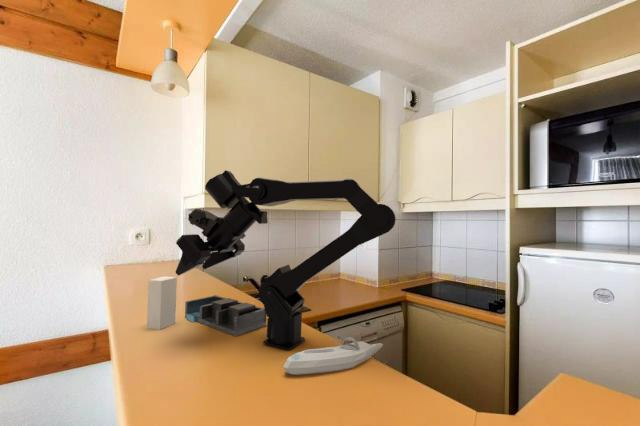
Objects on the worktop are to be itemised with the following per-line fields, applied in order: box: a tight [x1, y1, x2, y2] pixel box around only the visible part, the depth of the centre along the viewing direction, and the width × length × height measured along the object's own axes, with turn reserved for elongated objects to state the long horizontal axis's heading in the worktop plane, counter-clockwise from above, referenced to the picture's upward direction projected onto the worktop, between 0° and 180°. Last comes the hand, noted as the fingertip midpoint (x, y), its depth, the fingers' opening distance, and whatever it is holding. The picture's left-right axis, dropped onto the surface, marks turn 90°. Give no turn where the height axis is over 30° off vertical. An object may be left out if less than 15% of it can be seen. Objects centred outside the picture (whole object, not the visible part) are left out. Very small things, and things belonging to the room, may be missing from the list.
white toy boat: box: [283, 336, 384, 376], centre depth 58 cm, size 23×7×4 cm, turn 125°
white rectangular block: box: [146, 275, 178, 331], centre depth 74 cm, size 4×5×11 cm
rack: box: [184, 294, 267, 337], centre depth 78 cm, size 20×10×5 cm, turn 54°
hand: (191, 270), depth 72 cm, fingers open, 9 cm apart
